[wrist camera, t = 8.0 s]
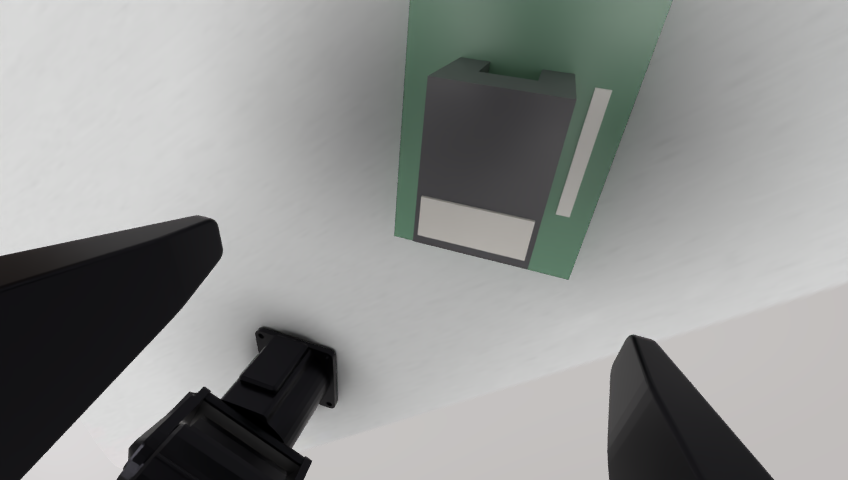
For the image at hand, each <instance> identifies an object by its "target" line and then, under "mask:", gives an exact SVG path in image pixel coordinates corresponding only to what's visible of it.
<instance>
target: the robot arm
mask: <svg viewBox="0 0 848 480" xmlns="http://www.w3.org/2000/svg"><path fill="white" fill-rule="evenodd" d="M222 253H223V247H222V242H221V237H220V233H219V228H218V224H217V223H216V221H215V220H213V219H211V218H207V217H204V216H199V215H196V216H191V217H186V218H181V219H176V220H171V221H167V222H162V223H157V224H152V225H147V226H142V227H138V228H133V229H128V230H123V231H118V232H114V233H109V234H104V235H99V236H94V237H90V238H85V239H80V240H75V241H70V242H65V243H61V244H56V245H51V246H46V247H41V248H37V249H32V250H27V251H22V252H17V253H13V254H8V255H3V256H0V480H20V479H21V478H22V477H23V476H24V475H25V474H26V473H27V472H28V471H29V470H30V469H31V468H32V467H33V466H34V465H35V464H36V463H37V461H38V460H39V459H40V458H41V457H42V456H43V455H44V454H45V453H46V452H47V451H48V450H49V449H50V448H51V447H52V446H53V445H54V443H55V442H56V441H57V440H58V439H59V438H60V437H61V436H62V435H63V434H64V433H65V432H66V431H67V430H68V429H69V428H70V427H71V426H72V424H73V423H74V422H75V421H76V420H77V419H78V418H79V417H80V416H81V415H82V414H83V413H84V412H85V411H86V410H87V409H88V408H89V406H90V405H91V404H92V403H93V402H94V401H95V400H96V399H97V398H98V397H99V396H100V395H101V394H102V393H103V392H104V391H105V390H106V388H107V387H108V386H109V385H110V384H111V383H112V382H113V381H114V380H115V379H116V378H117V377H118V376H119V375H120V374H121V373H122V372H123V371H124V369H125V368H126V367H127V366H128V365H129V364H130V363H131V362H132V361H133V360H134V359H135V358H136V357H137V356H138V355H139V354H140V353H141V351H142V350H143V349H144V348H145V347H146V346H147V345H148V344H149V343H150V342H151V341H152V340H153V339H154V338H155V337H156V336H157V335H158V333H159V332H160V331H161V330H162V329H163V328H164V327H165V326H166V325H167V324H168V323H169V322H170V321H171V320H172V319H173V318H174V316H175V315H176V314H177V313H178V312H179V311H180V310H181V309H182V307H183V306H184V305H185V304H186V302H187V301H188V300H189V299H190V297H191V296H192V295H193V294H194V292H195V291H196V290H197V288H198V287H199V286H200V285H201V283H202V282H203V281H204V279H205V278H206V277H207V276H208V274H209V273H210V272H211V270H212V269H213V268H214V267H215V265H216V264H217V263H218V261H219V260H220V259H221V256H222ZM255 335H256V340H257V346H258V351H259V354H258V355H257V356H256V357H255V358H254V360H253V361H252V362H251V363H250V364H249V365H248V366H247V368H246V369H245V370H244V371H243V372H242V373H241V375H240V376H239V379H238V380H237V381H236V382H235V383H234V384H233V386H232V387H231V388H230V389H229V390H228V391H227V393H226V394H225V395H224V396H223V397H222V398H221V399H219V398H218V397H216V396H215V395H213V394H212V393H210V392H211V391H210V390H209V389H207V388H206V387H203V388H202V389H201V390H200V391H199V392H198V393H193V392H189V393H188V394H187V395H186V396H185V397H184V398H183V399H182V400H181V401H180V402H179V403H178V404H177V405H176V406H175V407H174V408H173V409H172V410H171V411H170V412H169V413H168V414H167V415H166V416H165V417H163V418H162V419H161V420H160V421H159V422H157V423H156V424H155V425H154V426H153V427H151V428H150V429H149V430H148V431H146V432H145V433H144V434H143V435H142V436H140V437H139V438H138V439H137V440H136V441H135V442H134V443H133V444H132V445H131V446H130V447H129V453H128V462H127V463H126V464H125V466H124V468H123V471H122V473H121V474H120V475H119V477H118V478H117V480H304V478H305V476H306V473H307V471H308V469H309V467H310V465H311V462H312V460H310V459H309V458H307V457H303V456H302V455H300V454H299V453H297V452H296V451H295V450H293V449H292V447H293V445H294V444H295V442H296V441H297V439H298V437H299V436H300V434H301V432H302V431H303V429H304V427H305V426H306V424H307V423H308V421H309V419H310V418H311V416H312V414H313V413H314V411H315V410H316V408H317V406H318V405H319V404H320V405H323V406H326V407H329V408H334V407H335V406H336V404H337V381H336V355H335V353H334V352H333V351H332V350H330V349H328V348H325V347H321V346H318V345H315V344H312V343H309V342H306V341H303V340H300V339H297V338H294V337H291V336H287V335H284V334H281V333H278V332H275V331H272V330H269V329H266V328H262V327H261V328H259V329H258V330H257V331H256V333H255ZM607 453H608V470H609V480H774V479H773V478H772V477H771V475H770V474H769V473H768V472H767V471H766V470H765V468H764V467H763V466H762V465H761V464H760V463H759V462H758V460H757V459H756V458H755V457H754V456H753V455H752V453H751V452H750V451H749V450H748V449H747V448H746V447H745V445H744V444H743V443H742V442H741V441H740V439H739V438H738V437H737V436H736V435H735V434H734V432H733V431H732V430H731V429H730V428H729V427H728V426H727V424H726V423H725V422H724V421H723V420H722V418H721V417H720V416H719V415H718V414H717V413H716V412H715V410H714V409H713V408H712V407H711V406H710V404H709V403H708V402H707V401H706V400H705V399H704V397H703V396H702V395H701V394H700V393H699V392H698V390H697V389H696V388H695V387H694V386H693V385H692V383H691V382H690V381H689V380H688V379H687V378H686V376H685V375H684V374H683V373H682V372H681V371H680V370H679V368H678V367H677V366H676V365H675V364H674V363H673V361H672V360H671V359H670V358H669V357H668V356H667V354H666V353H665V352H664V351H663V350H662V348H661V347H660V346H659V345H658V344H657V343H656V342H655V341H654V340H651V339H648V338H644V337H641V336H637V335H630V336H629V337H628V338H627V339H626V340H625V342H624V344H623V346H622V348H621V350H620V352H619V353H618V355H617V357H616V359H615V361H614V363H613V365H612V369H611V375H610V396H609V420H608V450H607Z"/></svg>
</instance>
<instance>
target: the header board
mask: <svg viewBox="0 0 848 480" xmlns="http://www.w3.org/2000/svg"><path fill="white" fill-rule="evenodd" d="M672 1H673V0H410V6H409V21H408V36H407V51H406V66H405V81H404V96H403V111H402V126H401V141H400V157H399V172H398V187H397V202H396V217H395V232H394V236H397V237H401V238H405V239H409V240H413V233H414V222H415V211H416V200H417V188H418V177H419V166H420V155H421V144H422V133H423V122H424V111H425V100H426V89H427V78H428V75H430V74H432V73H434V72H435V71H437V70H439V69H441V68H442V67H444V66H446V65H448V64H450V63H451V62H453V61H455V60H457V59H458V58H460V57H462V58H469V59H476V60H483V61H489V62H490V67H489V73H491V74H498V75H504V76H511V77H517V78H524V79H530V80H537V81H538V80H539V77H540V74H541V72H542V69H544V70H551V71H558V72H565V73H571V74H575V82H576V97H577V100H576V104H575V107H574V110H573V114H572V117H571V121H570V124H569V128H568V131H567V135H566V138H565V142H564V145H563V149H562V152H561V156H560V159H559V162H558V166H557V169H556V173H555V176H554V180H553V183H552V187H551V190H550V194H549V197H548V201H547V204H546V207H545V211H544V214H543V218H542V221H541V225H540V228H539V232H538V235H537V239H536V242H535V246H534V249H533V253H532V256H531V259H530V263H529V266H528V270H532V271H536V272H540V273H544V274H547V275H551V276H555V277H559V278H563V279H567V280H569V277H570V275H571V272H572V269H573V267H574V264H575V261H576V259H577V256H578V253H579V251H580V248H581V245H582V243H583V240H584V237H585V234H586V232H587V229H588V226H589V224H590V221H591V218H592V216H593V213H594V210H595V208H596V205H597V202H598V200H599V197H600V194H601V191H602V189H603V186H604V183H605V181H606V178H607V175H608V173H609V170H610V167H611V165H612V162H613V159H614V157H615V154H616V151H617V148H618V146H619V143H620V140H621V138H622V135H623V132H624V130H625V127H626V124H627V122H628V119H629V116H630V114H631V111H632V108H633V105H634V103H635V100H636V97H637V95H638V92H639V89H640V87H641V84H642V81H643V79H644V76H645V73H646V71H647V68H648V65H649V62H650V60H651V57H652V54H653V52H654V49H655V46H656V44H657V41H658V38H659V36H660V33H661V30H662V28H663V25H664V22H665V20H666V17H667V14H668V11H669V9H670V6H671V3H672Z"/></svg>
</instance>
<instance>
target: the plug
mask: <svg viewBox="0 0 848 480" xmlns="http://www.w3.org/2000/svg"><path fill="white" fill-rule="evenodd" d="M489 67H490V62H489V61H483V60H476V59H469V58H462V57H460V58H458V59H457V60H455V61H453V62H451V63H450V64H448V65H446V66H444V67H442V68H441V69H439V70H437V71H435V72H434V73H432V74H430V75H428V78H427V89H426V100H425V111H424V122H423V133H422V144H421V155H420V166H419V177H418V188H417V200H416V211H415V222H414V233H413V241H415V242H419V243H423V244H427V245H431V246H435V247H439V248H443V249H447V250H451V251H455V252H459V253H463V254H468V255H472V256H476V257H480V258H484V259H488V260H492V261H496V262H500V263H504V264H508V265H512V266H516V267H520V268H524V269H528V266H529V263H530V259H531V256H532V253H533V249H534V246H535V242H536V239H537V235H538V232H539V228H540V225H541V221H542V218H543V214H544V211H545V207H546V204H547V201H548V197H549V194H550V190H551V187H552V183H553V180H554V176H555V173H556V169H557V166H558V162H559V159H560V156H561V152H562V149H563V145H564V142H565V138H566V135H567V131H568V128H569V124H570V121H571V117H572V114H573V110H574V107H575V104H576V100H577V97H576V82H575V74H571V73H565V72H558V71H551V70H544V69H542V72H541V74H540V77H539V80H538V81H537V80H530V79H524V78H517V77H511V76H504V75H498V74H491V73H489Z"/></svg>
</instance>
